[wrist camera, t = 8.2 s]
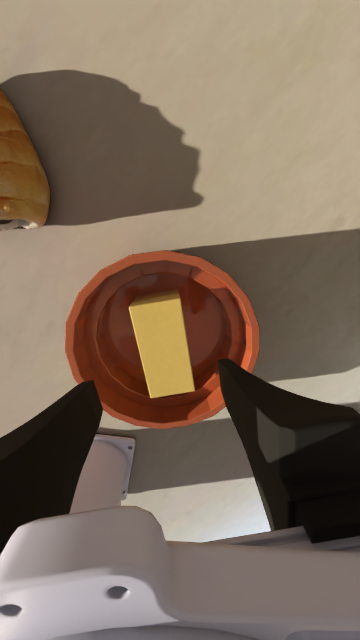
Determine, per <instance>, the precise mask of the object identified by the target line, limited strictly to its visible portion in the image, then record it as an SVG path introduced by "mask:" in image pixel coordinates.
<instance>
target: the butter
mask: <svg viewBox="0 0 360 640" xmlns="http://www.w3.org/2000/svg"><path fill="white" fill-rule="evenodd" d="M129 311H130V315H131V319H132V323H133V327H134V332H135V336H136V340H137V344H138V348H139V352H140V357H141V361H142V365H143V369H144V373H145V377H146V382H147V386H148V390H149V394H150V398H156V397H162V396H168V395H174V394H180V393H186V392H192V391H195V386H194V380H193V374H192V367H191V361H190V355H189V348H188V342H187V336H186V329H185V323H184V317H183V311H182V304H181V298H180V294H179V290H178V289H172V290H166V291H160V292H154V293H148V294H142V295H137V296H136V298H135V299H134V300H133V302H132V303H131V305H130V306H129Z"/></svg>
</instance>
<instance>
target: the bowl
mask: <svg viewBox="0 0 360 640" xmlns="http://www.w3.org/2000/svg"><path fill="white" fill-rule="evenodd" d="M172 289H178V290H179V294H180V298H181V304H182V311H183V317H184V323H185V329H186V336H187V342H188V348H189V355H190V361H191V367H192V374H193V380H194V386H195V391H192V392H186V393H180V394H174V395H168V396H162V397H156V398H150V394H149V390H148V386H147V382H146V377H145V373H144V369H143V365H142V361H141V357H140V352H139V348H138V344H137V340H136V336H135V332H134V327H133V323H132V319H131V315H130V311H129V306H130V305H131V303H132V302H133V300H134V299H135V298H136V296H137V295H142V294H148V293H154V292H160V291H166V290H172ZM65 352H66V355H67V359H68V362H69V365H70V368H71V371H72V374H73V377H74V379H75V380H76V382H77V383H78V384H80V383H82V382H84V381H90V380H94V383H95V386H96V389H97V392H98V395H99V398H100V401H101V404H102V407H103V410H104V411H105V412H107V413H108V414H109V415H111V416H112V417H115V418H117V419H120V420H123V421H125V422H128V423H130V424H133V425H135V426H142V427H150V428H159V429H163V428H164V429H167V428H174V427H182V426H189V425H192V424H195V423H197V422H200V421H202V420H204V419H207V418H209V417H212V416H214V415H215V414H217V413H218V412H219V411H221V410H222V409H223V408H225V407H226V405H225V402H224V399H223V395H222V392H221V387H220V378H219V369H218V360H219V359H225V358H229V359H230V360H232V361H233V362H234V363H236V364H237V365H239V366H240V367H242V368H243V369H245V370H246V371H248V372H249V373H251V374H252V373H253V370H254V367H255V364H256V361H257V358H258V355H259V324H258V321H257V319H256V316H255V313H254V310H253V308H252V305H251V302H250V299H249V298H248V296H247V295H246V294H245V293H244V291H243V290H242V289H241V288H240V287H239V285H238V284H237V283H236V282H235V281H234V279H233V278H232V277H231V276H230V275H229V274H228V273H226V272H225V271H223V270H221V269H220V268H218V267H216V266H214V265H213V264H211V263H209V262H208V261H206V260H204V259H203V258H201V257H197V256H192V255H187V254H182V253H178V252H173V251H168V250H167V251H166V250H164V251H156V252H148V253H140V254H132V255H130V256H128V257H126V258H124V259H122V260H120V261H118V262H116V263H114V264H111V265H109V266H107V267H105V268H103V269H101V270H100V271H99V272H98V273H97V274H96V275H95V276H94V277H93V278H92V279H91V280H90V282H89V283H88V284H87V285H86V286H85V287H84V288H83V289H82V290H81V291H80V292H79V293H78V295H77V297H76V300H75V302H74V304H73V307H72V309H71V312H70V314H69V316H68V319H67V322H66V337H65Z"/></svg>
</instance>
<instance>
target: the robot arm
mask: <svg viewBox="0 0 360 640" xmlns="http://www.w3.org/2000/svg"><path fill="white" fill-rule="evenodd" d="M218 369H219V378H220V387H221V392H222V395H223V399H224V402H225V405H226V407H227V410H228V412H229V414H230V416H231V419H232V421H233V423H234V425H235V427H236V430H237V432H238V434H239V436H240V438H241V441H242V443H243V446H244V448H245V451H246V454H247V457H248V460H249V463H250V466H251V469H252V472H253V475H254V478H255V481H256V484H257V487H258V490H259V493H260V496H261V499H262V503H263V506H264V509H265V512H266V515H267V518H268V522H269V525H270V528H271V531H269V532H263V533H257V534H251V535H245V536H239V537H233V538H227V539H221V540H215V541H209V542H203V543H196V542H180V541H166V540H165V538H164V534H163V531H162V527H161V525H160V524H159V522H158V521H157V520H156V518H155V517H154V515H153V514H152V513H151V512H149V511H147V510H144V509H142V508H140V507H137V506H120V505H121V500H125V499H126V496H127V490H128V484H129V478H130V472H131V466H132V461H133V455H134V449H135V443H136V441H135V439H133V438H127V437H118V436H109V435H100V434H96V433H97V430H98V427H99V424H100V420H101V416H102V412H103V407H102V404H101V401H100V398H99V395H98V392H97V389H96V386H95V383H94V380H90V381H84V382H82V383H80V384H79V385H77V386H76V387H74V388H73V389H72V390H70V391H69V392H68V393H66V394H65V395H64V396H62V397H61V398H60V399H59V400H57V401H56V402H55V403H53V404H52V405H51V406H49V407H48V408H46V409H45V410H44V411H42V412H41V413H39V414H38V415H37V416H35V417H34V418H32V419H31V420H29V421H28V422H26V423H25V424H23V425H22V426H20V427H18V428H17V429H15V430H13V431H12V432H10V433H8V434H7V435H5V436H3V437H1V438H0V640H360V414H359V413H358V412H357V411H356V410H354V409H353V408H351V407H345V406H340V405H335V404H330V403H325V402H321V401H317V400H313V399H310V398H306V397H303V396H300V395H297V394H294V393H291V392H288V391H286V390H283V389H280V388H278V387H276V386H274V385H271V384H269V383H267V382H265V381H263V380H262V379H260V378H258V377H256V376H254V375H253V374H251V373H249V372H248V371H246V370H245V369H243V368H242V367H240V366H239V365H237V364H236V363H234V362H233V361H232V360H230V359H229V358H225V359H219V360H218Z"/></svg>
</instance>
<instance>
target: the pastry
mask: <svg viewBox="0 0 360 640" xmlns="http://www.w3.org/2000/svg"><path fill="white" fill-rule="evenodd" d="M49 201H50V190H49V185H48V181H47V177H46V173H45V171H44V169H43V167H42V165H41V162H40V160H39V158H38V156H37V153H36V151H35V148H34V146H33V144H32V142H31V140H30V138H29V136H28V134H27V132H26V131H25V129H24V127H23V125H22V123H21V121H20V119H19V117H18V115H17V113H16V111H15V109H14V108H13V106H12V104H11V102H10V101H9V99H8V98H7V97H6V95H5V94H4V93H3V92H2V91H1V89H0V231H1V230H8V229H12V228H16V227H18V226H21V227H23V228H27V229H33V228H39V227H41V226H42V225H43V224H44V223H45V222H46V219H47V215H48V209H49Z"/></svg>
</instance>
